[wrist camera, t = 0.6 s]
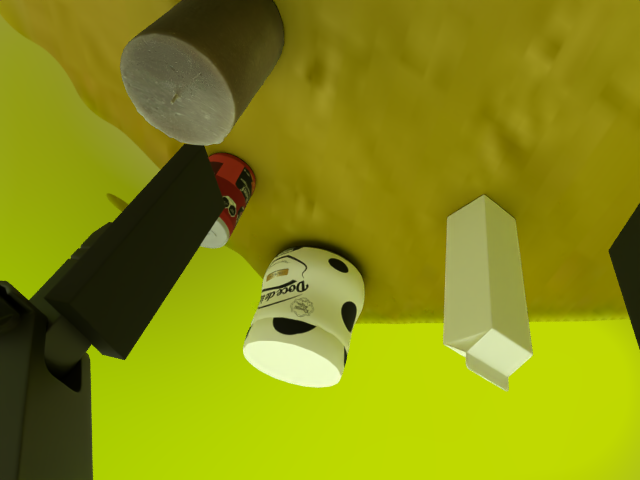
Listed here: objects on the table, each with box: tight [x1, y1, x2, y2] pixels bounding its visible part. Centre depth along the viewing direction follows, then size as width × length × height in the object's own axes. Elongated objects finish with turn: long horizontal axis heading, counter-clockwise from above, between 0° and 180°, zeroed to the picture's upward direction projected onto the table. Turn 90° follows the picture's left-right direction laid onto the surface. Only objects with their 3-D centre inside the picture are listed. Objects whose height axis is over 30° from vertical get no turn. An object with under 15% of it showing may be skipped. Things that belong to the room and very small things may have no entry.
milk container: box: [243, 246, 365, 387], centre depth 62 cm, size 17×17×18 cm
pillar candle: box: [120, 0, 284, 145], centre depth 34 cm, size 10×10×15 cm
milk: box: [443, 195, 533, 391], centre depth 43 cm, size 6×6×22 cm
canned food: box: [200, 153, 255, 248], centre depth 51 cm, size 8×8×11 cm
